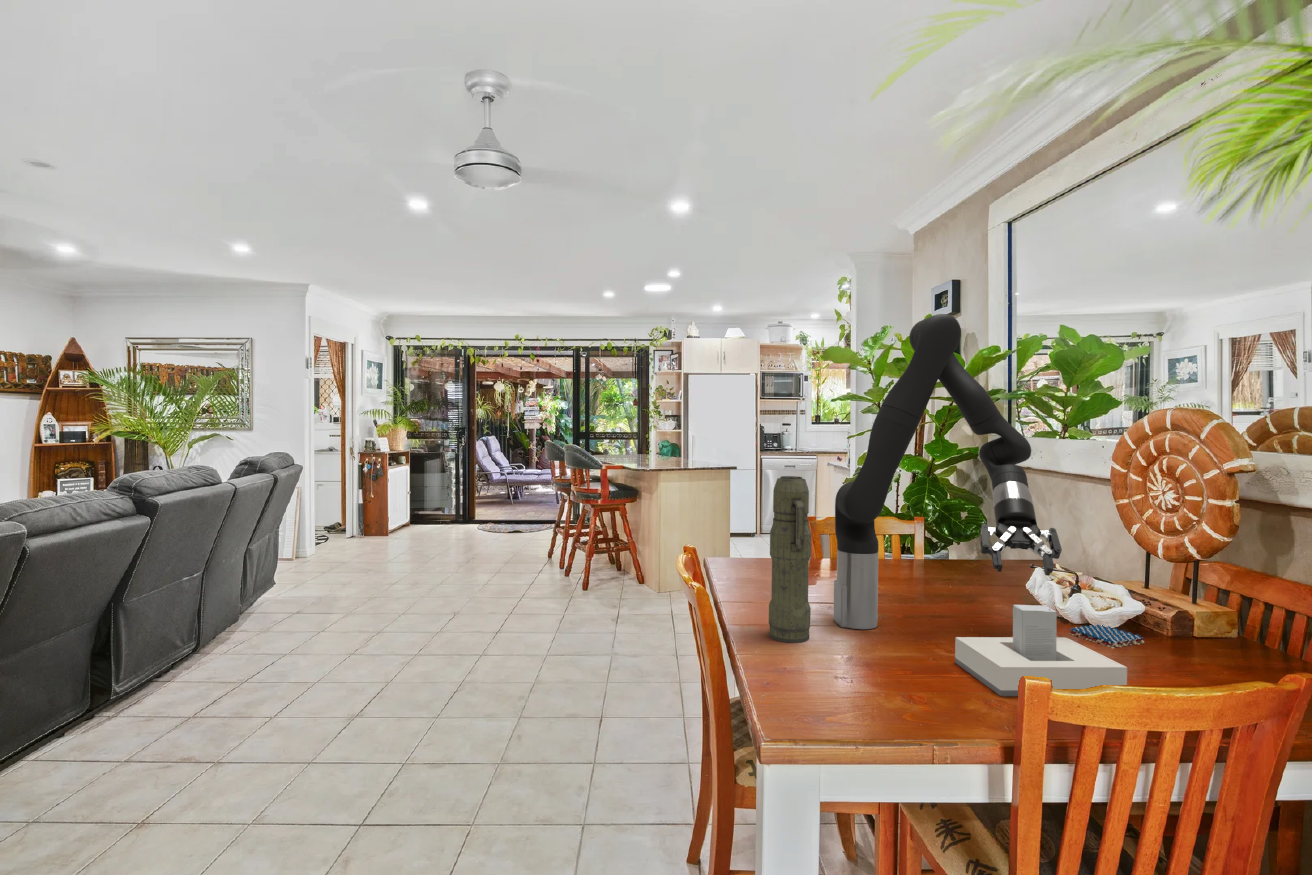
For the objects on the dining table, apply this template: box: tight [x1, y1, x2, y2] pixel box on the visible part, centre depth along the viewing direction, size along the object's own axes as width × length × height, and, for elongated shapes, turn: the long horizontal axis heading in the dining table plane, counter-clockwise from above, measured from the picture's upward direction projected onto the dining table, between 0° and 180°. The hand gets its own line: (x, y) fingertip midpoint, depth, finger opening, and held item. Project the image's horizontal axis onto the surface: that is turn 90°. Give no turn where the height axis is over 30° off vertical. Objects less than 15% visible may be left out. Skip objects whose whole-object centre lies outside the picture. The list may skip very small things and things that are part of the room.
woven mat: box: [1068, 624, 1145, 649], centre depth 143 cm, size 10×11×2 cm
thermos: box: [768, 475, 812, 644], centre depth 142 cm, size 9×12×35 cm
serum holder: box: [954, 636, 1128, 697], centre depth 119 cm, size 22×16×5 cm
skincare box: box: [1012, 604, 1058, 661], centre depth 119 cm, size 6×4×12 cm
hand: (1023, 571), depth 129 cm, fingers open, 8 cm apart
